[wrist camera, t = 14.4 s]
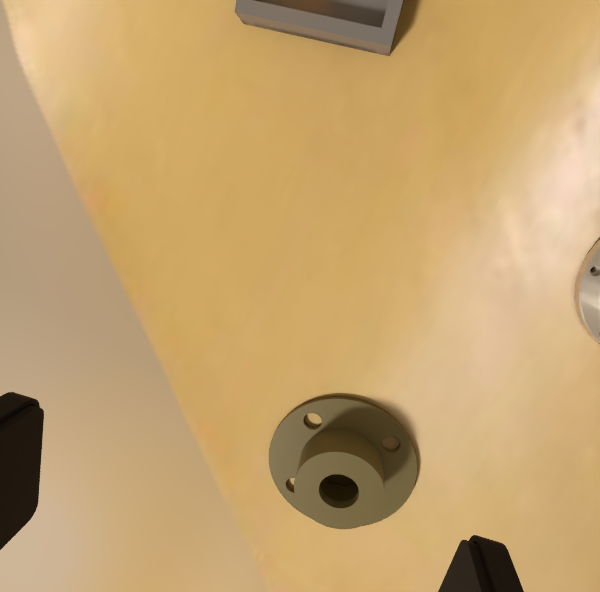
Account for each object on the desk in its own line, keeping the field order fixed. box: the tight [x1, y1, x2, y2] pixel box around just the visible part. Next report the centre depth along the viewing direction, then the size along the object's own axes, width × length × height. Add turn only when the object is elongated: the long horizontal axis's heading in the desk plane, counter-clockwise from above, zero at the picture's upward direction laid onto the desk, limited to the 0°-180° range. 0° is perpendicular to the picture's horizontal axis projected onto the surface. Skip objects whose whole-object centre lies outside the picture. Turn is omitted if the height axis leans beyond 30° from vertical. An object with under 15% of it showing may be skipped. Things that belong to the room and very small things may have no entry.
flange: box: [269, 396, 417, 529], centre depth 41 cm, size 5×15×15 cm
